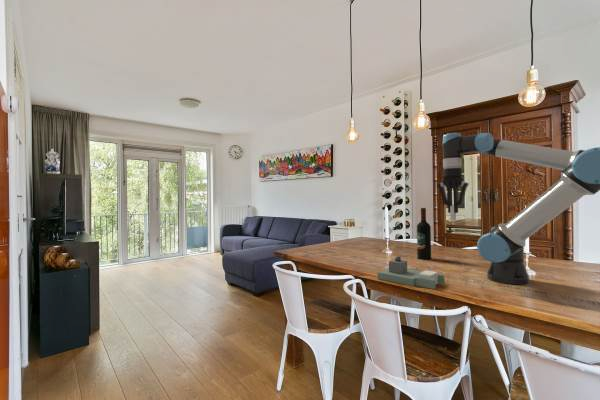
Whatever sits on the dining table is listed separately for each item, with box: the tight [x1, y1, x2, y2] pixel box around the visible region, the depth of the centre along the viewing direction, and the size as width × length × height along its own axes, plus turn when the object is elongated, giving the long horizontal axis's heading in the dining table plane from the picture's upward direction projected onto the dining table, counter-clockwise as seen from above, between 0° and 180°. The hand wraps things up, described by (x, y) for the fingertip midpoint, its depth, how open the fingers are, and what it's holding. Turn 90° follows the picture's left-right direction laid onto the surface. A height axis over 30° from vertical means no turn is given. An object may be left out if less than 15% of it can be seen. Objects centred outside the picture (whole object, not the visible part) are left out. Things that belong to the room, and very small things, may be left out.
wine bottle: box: [416, 207, 432, 261], centre depth 177 cm, size 8×8×30 cm
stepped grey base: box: [377, 255, 446, 290], centre depth 134 cm, size 25×14×10 cm, turn 45°
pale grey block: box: [419, 269, 439, 286], centre depth 128 cm, size 5×7×5 cm
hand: (453, 220), depth 135 cm, fingers closed
